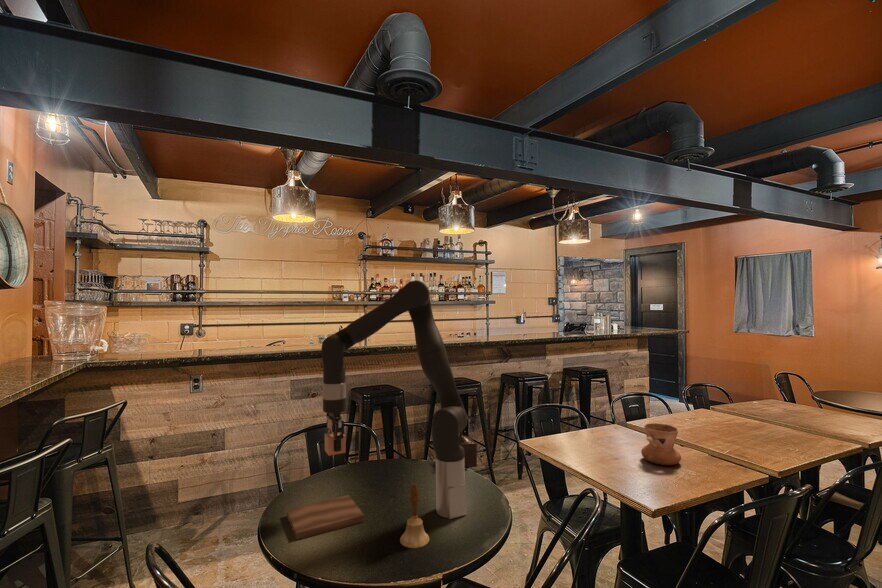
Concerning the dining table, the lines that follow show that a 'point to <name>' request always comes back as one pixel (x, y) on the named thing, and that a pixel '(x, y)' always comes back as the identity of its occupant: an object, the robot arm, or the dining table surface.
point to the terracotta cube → (330, 444)
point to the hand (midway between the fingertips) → (335, 448)
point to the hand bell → (414, 524)
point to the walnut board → (324, 516)
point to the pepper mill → (468, 450)
